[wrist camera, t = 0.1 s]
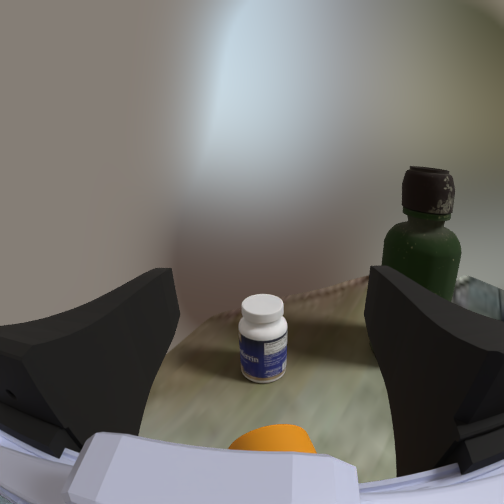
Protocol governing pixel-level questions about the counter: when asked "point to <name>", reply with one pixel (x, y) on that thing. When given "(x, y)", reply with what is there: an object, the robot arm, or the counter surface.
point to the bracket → (275, 439)
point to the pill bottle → (263, 338)
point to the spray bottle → (425, 232)
